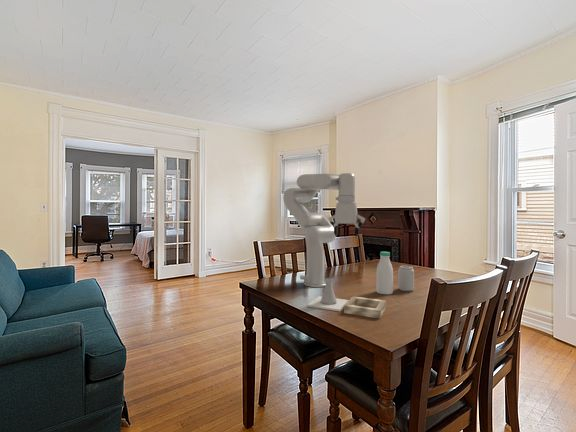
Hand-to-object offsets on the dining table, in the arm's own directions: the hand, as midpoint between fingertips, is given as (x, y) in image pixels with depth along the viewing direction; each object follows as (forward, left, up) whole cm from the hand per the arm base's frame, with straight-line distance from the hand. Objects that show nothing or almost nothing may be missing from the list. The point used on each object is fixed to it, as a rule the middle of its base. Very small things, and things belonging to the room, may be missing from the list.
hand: (346, 235), depth 147 cm
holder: (+13, -18, -28) cm, 36 cm away
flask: (-3, -17, -28) cm, 33 cm away
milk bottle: (+16, +12, -28) cm, 35 cm away
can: (+25, +22, -28) cm, 44 cm away
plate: (-3, -17, -28) cm, 33 cm away
